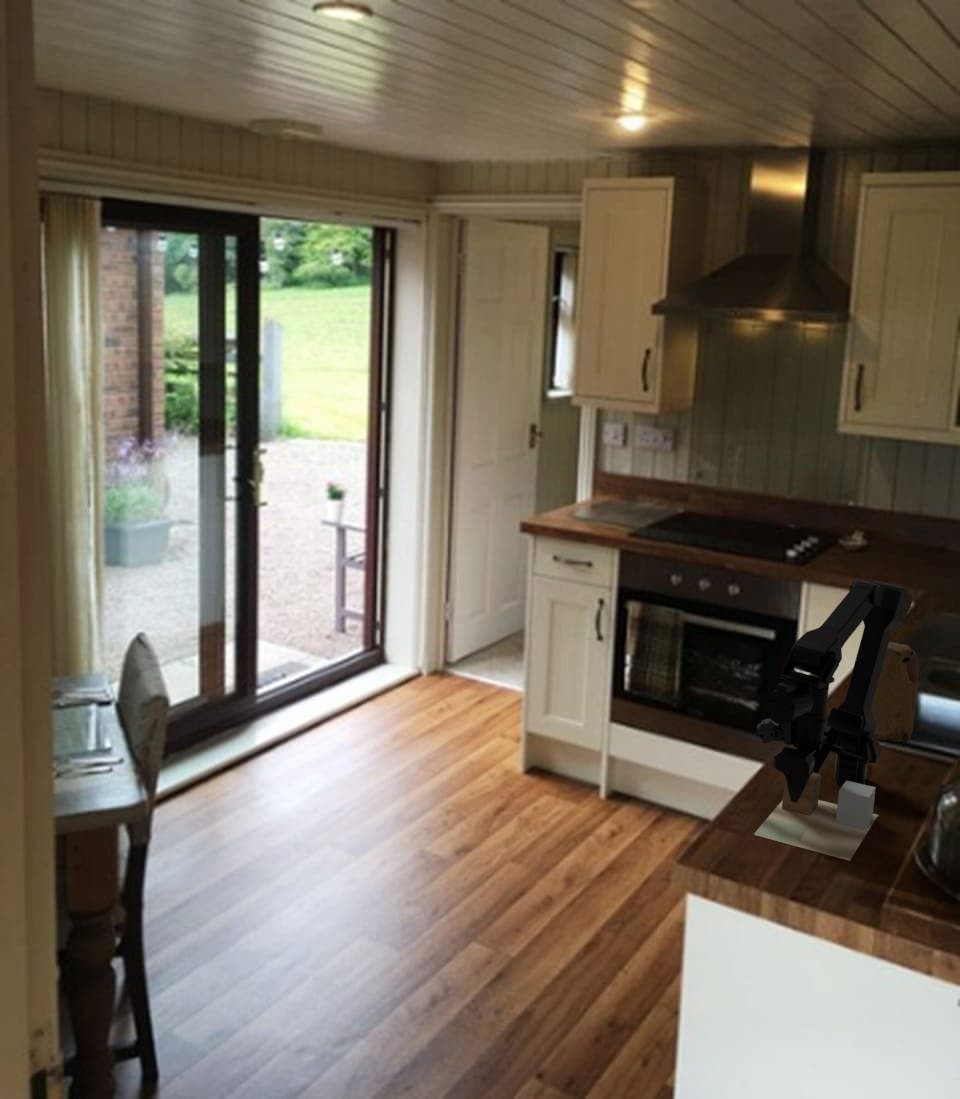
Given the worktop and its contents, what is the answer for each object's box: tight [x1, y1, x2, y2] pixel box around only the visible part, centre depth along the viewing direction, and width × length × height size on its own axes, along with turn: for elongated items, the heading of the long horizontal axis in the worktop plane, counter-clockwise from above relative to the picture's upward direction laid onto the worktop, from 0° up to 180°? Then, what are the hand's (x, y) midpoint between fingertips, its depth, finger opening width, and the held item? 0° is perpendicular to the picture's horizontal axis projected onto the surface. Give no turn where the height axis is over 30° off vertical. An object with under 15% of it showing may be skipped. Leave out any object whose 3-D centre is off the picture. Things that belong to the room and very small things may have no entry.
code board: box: [753, 799, 879, 861], centre depth 196 cm, size 20×16×1 cm
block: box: [871, 641, 920, 743], centre depth 238 cm, size 11×8×20 cm
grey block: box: [836, 780, 877, 830], centre depth 197 cm, size 5×5×6 cm
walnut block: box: [782, 773, 822, 816], centre depth 202 cm, size 5×5×6 cm
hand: (801, 792), depth 202 cm, fingers open, 9 cm apart
